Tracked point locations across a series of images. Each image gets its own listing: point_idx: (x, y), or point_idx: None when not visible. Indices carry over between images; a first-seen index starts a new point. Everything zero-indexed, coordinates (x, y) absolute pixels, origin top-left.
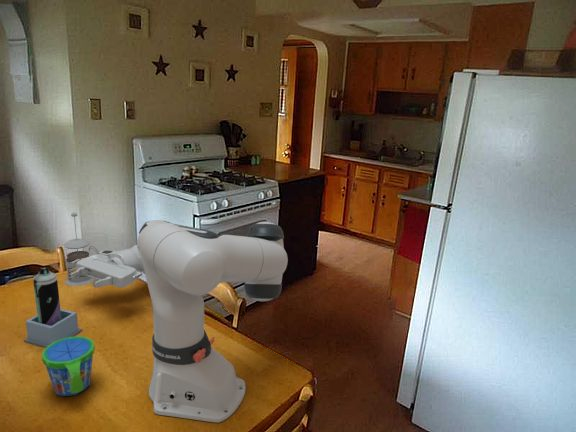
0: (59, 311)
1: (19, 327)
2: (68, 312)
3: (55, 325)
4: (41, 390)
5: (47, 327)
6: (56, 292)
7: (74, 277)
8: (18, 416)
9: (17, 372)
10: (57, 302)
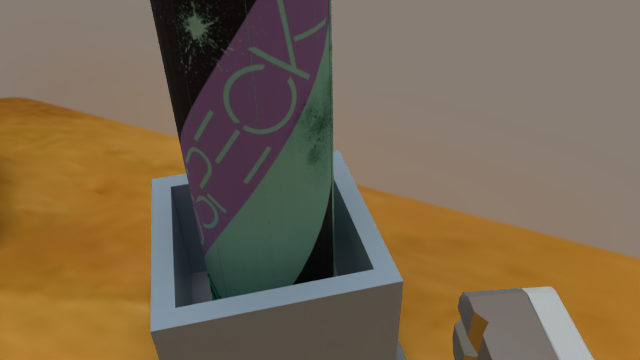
0: (198, 206)
1: (509, 270)
2: (215, 302)
3: (153, 198)
4: (12, 162)
5: (179, 175)
6: (162, 46)
7: (464, 326)
8: (3, 112)
9: (170, 161)
10: (179, 129)
